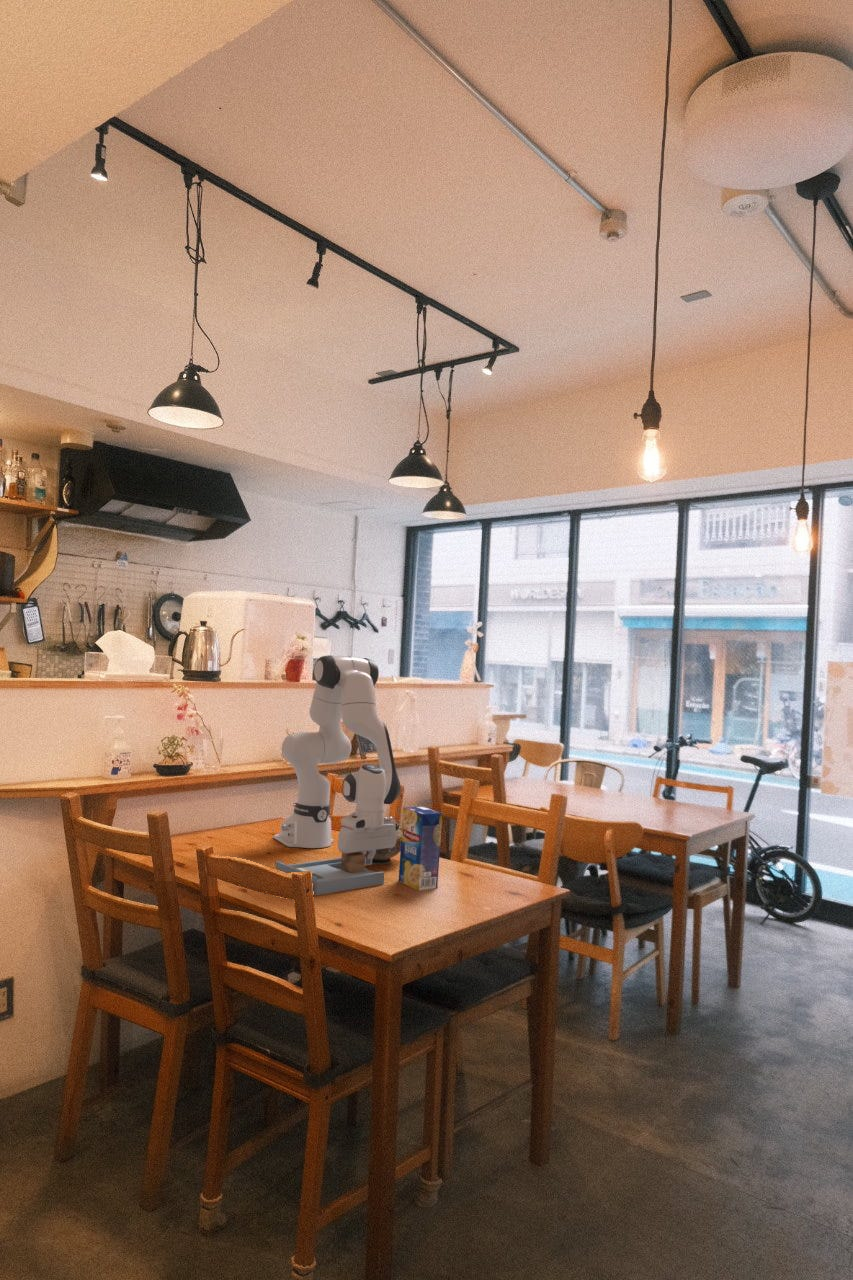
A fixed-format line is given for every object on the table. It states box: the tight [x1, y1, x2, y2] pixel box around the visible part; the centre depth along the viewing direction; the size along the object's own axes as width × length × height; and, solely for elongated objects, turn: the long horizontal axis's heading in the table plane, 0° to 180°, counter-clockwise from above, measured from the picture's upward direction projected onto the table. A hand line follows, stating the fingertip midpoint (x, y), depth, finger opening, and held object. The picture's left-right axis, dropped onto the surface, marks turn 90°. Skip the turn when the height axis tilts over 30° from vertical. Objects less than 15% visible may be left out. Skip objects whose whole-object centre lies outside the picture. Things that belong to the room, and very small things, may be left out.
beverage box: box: [398, 806, 443, 891], centre depth 248 cm, size 7×11×22 cm, turn 34°
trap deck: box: [274, 857, 385, 897], centre depth 244 cm, size 20×25×5 cm
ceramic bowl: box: [365, 821, 402, 865], centre depth 272 cm, size 24×18×15 cm
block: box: [341, 852, 366, 873], centre depth 249 cm, size 5×5×5 cm
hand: (366, 864), depth 252 cm, fingers closed
